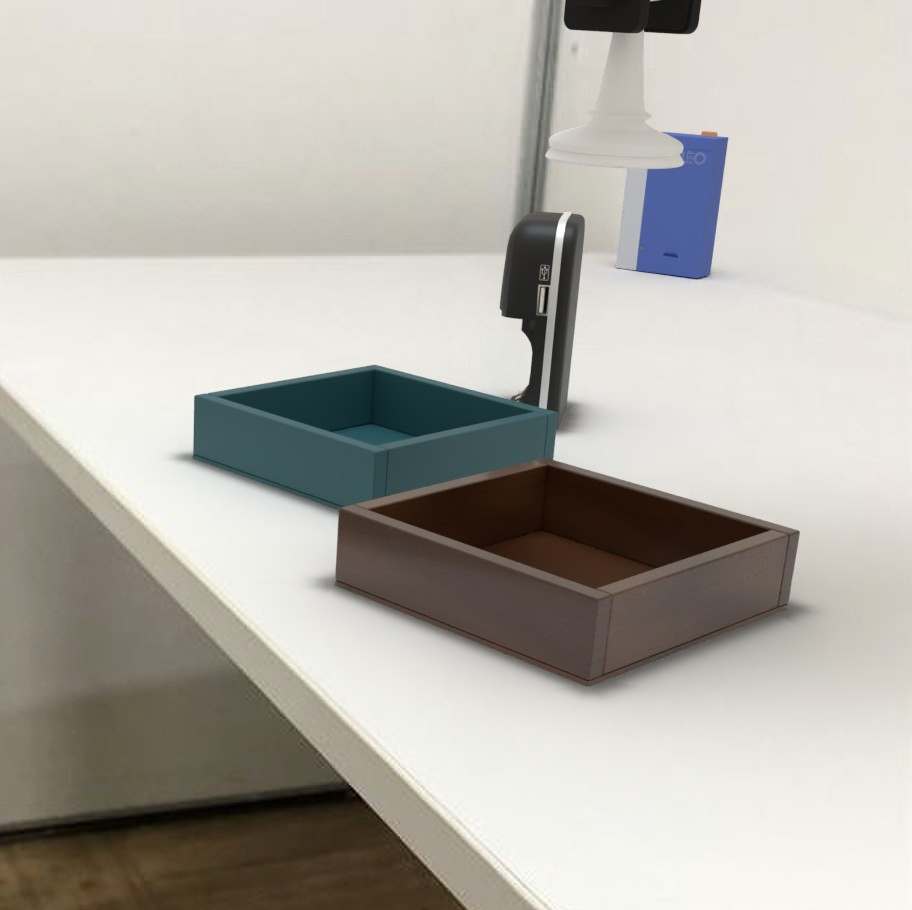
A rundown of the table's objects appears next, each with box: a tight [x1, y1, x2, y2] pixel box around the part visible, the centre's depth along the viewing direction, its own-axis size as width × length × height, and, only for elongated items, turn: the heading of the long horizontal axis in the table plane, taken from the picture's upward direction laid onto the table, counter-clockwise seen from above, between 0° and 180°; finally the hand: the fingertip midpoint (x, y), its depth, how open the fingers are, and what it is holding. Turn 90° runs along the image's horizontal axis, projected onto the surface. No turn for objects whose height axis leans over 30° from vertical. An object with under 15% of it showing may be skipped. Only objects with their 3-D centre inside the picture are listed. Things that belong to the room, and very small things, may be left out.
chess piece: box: [544, 0, 684, 169], centre depth 57 cm, size 5×5×10 cm
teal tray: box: [192, 364, 558, 511], centre depth 79 cm, size 13×13×4 cm
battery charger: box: [499, 211, 586, 431], centre depth 89 cm, size 7×4×11 cm, turn 166°
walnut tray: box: [334, 458, 801, 687], centre depth 63 cm, size 13×13×4 cm
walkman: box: [615, 130, 729, 279], centre depth 141 cm, size 8×3×12 cm, turn 53°
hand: (630, 27), depth 57 cm, fingers closed on chess piece
